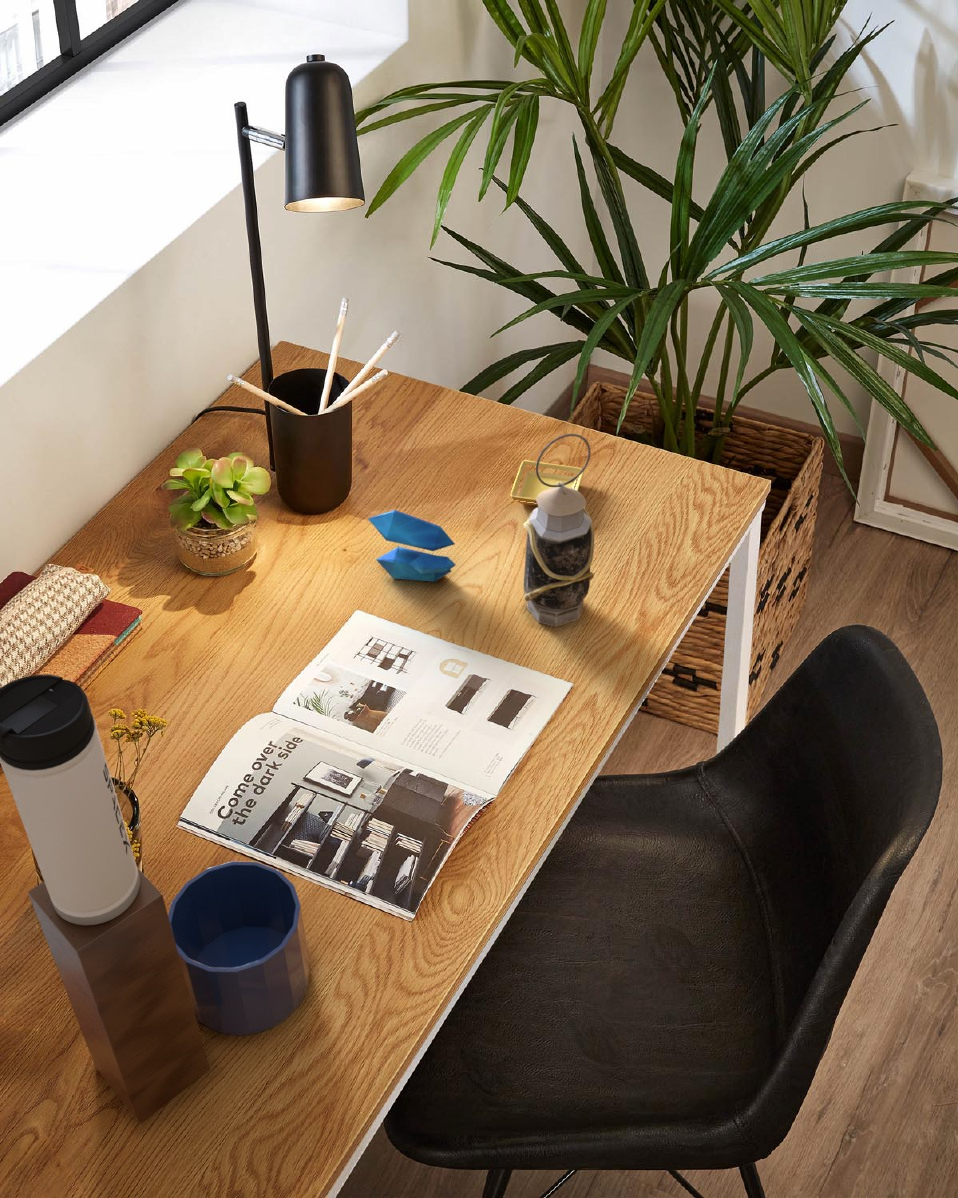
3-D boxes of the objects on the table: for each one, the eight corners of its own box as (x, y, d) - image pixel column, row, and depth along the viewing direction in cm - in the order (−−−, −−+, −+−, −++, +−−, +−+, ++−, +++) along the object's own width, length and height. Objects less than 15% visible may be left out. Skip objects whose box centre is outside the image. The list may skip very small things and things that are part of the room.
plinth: (139, 1124, 105) (76, 951, 89) (95, 1067, 109) (27, 891, 93) (210, 1070, 109) (162, 894, 92) (164, 1016, 113) (111, 838, 96)
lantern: (571, 579, 158) (582, 407, 141) (603, 618, 152) (619, 444, 136) (508, 599, 155) (512, 426, 139) (539, 639, 150) (547, 464, 133)
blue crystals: (459, 554, 151) (362, 525, 150) (444, 605, 157) (350, 578, 156) (470, 516, 156) (376, 489, 156) (455, 567, 162) (364, 541, 162)
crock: (232, 1060, 109) (216, 997, 103) (160, 977, 116) (141, 912, 109) (334, 981, 115) (325, 916, 109) (261, 906, 121) (248, 840, 115)
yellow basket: (584, 480, 174) (584, 467, 172) (573, 517, 167) (573, 504, 166) (522, 471, 175) (522, 459, 174) (508, 508, 169) (509, 495, 168)
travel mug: (30, 903, 92) (-45, 710, 79) (99, 842, 96) (39, 650, 83) (90, 945, 89) (23, 753, 76) (158, 882, 93) (106, 689, 80)
